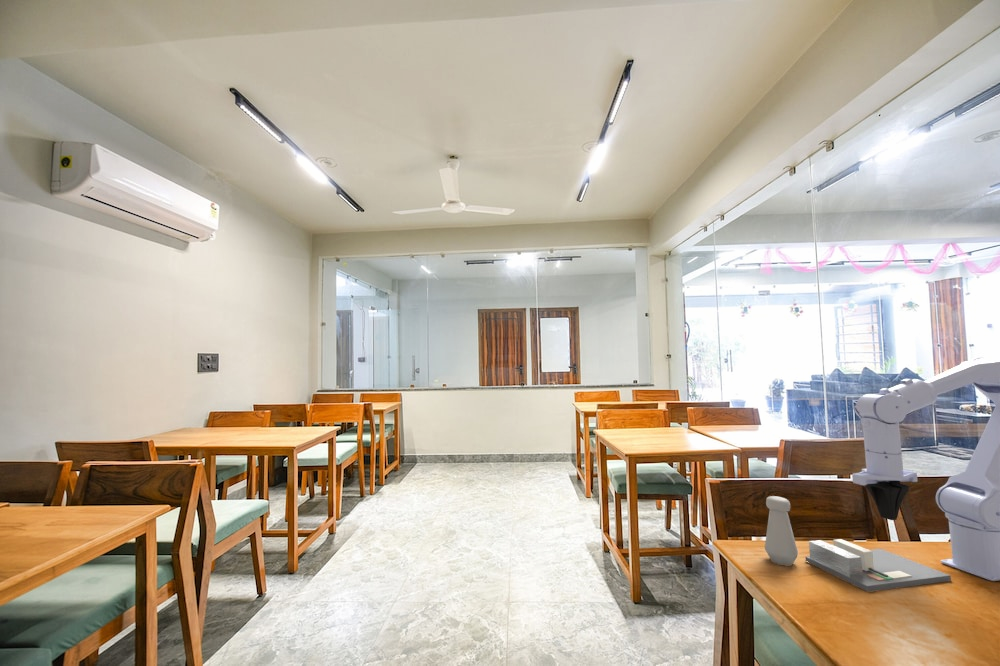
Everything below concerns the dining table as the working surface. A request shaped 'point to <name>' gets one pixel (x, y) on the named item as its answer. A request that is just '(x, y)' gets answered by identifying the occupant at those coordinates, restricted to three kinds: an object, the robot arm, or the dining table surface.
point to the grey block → (836, 558)
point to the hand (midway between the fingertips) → (888, 518)
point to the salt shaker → (780, 532)
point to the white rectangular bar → (859, 554)
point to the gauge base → (890, 573)
